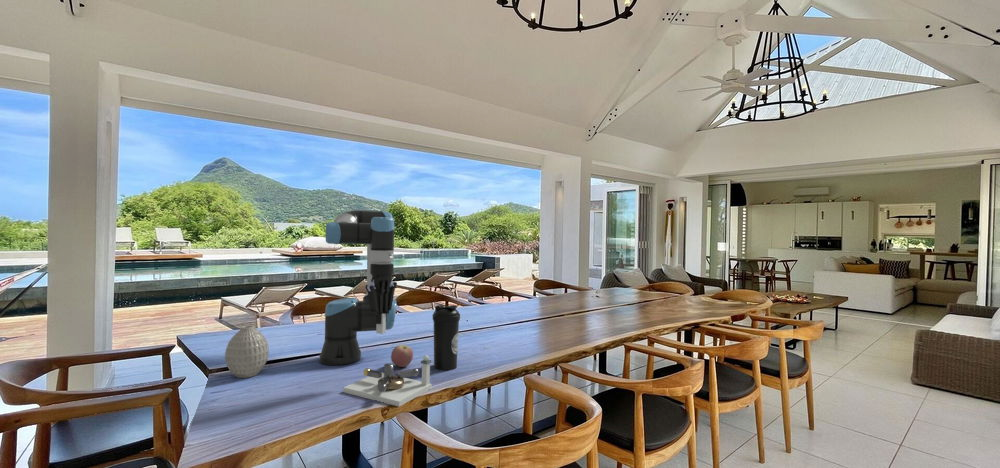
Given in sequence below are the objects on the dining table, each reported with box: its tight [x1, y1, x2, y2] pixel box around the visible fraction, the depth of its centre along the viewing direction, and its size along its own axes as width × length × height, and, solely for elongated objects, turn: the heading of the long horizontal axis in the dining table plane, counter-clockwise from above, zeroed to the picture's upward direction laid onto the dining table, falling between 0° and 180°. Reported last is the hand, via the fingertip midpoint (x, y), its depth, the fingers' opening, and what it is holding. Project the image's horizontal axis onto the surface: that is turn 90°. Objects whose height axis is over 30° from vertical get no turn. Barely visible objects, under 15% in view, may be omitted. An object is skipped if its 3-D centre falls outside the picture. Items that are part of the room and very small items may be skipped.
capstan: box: [362, 362, 420, 392], centre depth 134 cm, size 16×18×6 cm
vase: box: [224, 325, 270, 379], centre depth 144 cm, size 13×13×17 cm
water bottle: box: [432, 304, 461, 372], centre depth 157 cm, size 10×10×23 cm
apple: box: [390, 344, 414, 368], centre depth 156 cm, size 8×8×8 cm
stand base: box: [343, 355, 433, 408], centre depth 133 cm, size 22×16×11 cm
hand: (380, 333), depth 141 cm, fingers closed
